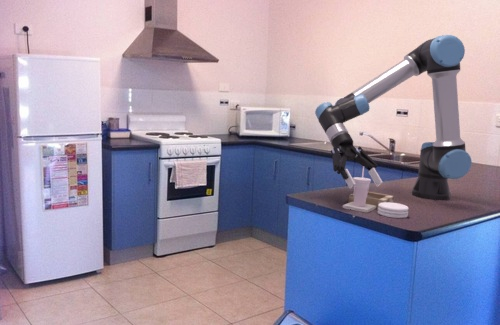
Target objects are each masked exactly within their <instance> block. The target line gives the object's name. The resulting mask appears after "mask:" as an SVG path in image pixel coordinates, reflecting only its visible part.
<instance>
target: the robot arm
mask: <svg viewBox="0 0 500 325" xmlns="http://www.w3.org/2000/svg"><path fill="white" fill-rule="evenodd" d="M465 52H466V49H465V46H464V43H463V41H462V40H461V39H460V38H458V36H455V35H452V34H443V35H442V34H441V35H439V36H436V37H434V38H431V39H428V40H426V41H424V42H422V43H421V44H419V45H418V46H417V47H416V48H415V49H413V50H412V51H410V52H409V53H407V54H405V56H404V57H403V60H400V61H399V62H397V63H396V64H395V65H393V66H391V67H390V68H388V69H387V70H385V71H383V72H382V73H380V74H378V75H377V76H375V77H374V78H373V79H371V80H369V81H367V82H366V83H364V84H363V85H361V86H359V87H358V88H357V89H355V90H353V91H352V92H350V93H349V94H347V95H346V96H344V97H342V98H339V99H337V100H336V101H335V104H332V103H331V102H330V101H327V102H323V103H321V104H319V105H318V106H317V107H316V109H315V111H314V114H315V116H316V119H317V120H318V121H317V122H318V123H319V124H320V126H321V129H322V130H323V132H324V133H325V135H326V137H327V138H328V140H329V142H330V143H331V146H332V148H331V150H330V153H331V155H332V156H331V157H332V166H333V167H332V168H333V171H334V172H336V173H337V174H338V175H341V177H342V179H343V180H344V181H345V183H346V185H347V187H348V188H349V189H350V190H351V189H352V188H354V185H355V182H354V180H353V178H354V177H352V175H351V173H350V171H349V169H348V168H346V165H347V161H353V162H357V163H358V164H359V165H361V166H362V167H363V166H364V169H366V170H368V171H367V172H368V174H369V176H370V179H371V180H372V181H373V183H374V184H375V186H376V188H377V187H378V188H379V186H380V185H382V184H383V180H382V178H381V177H380V175H379V173H378V171H377V169H376V168H378V166H379V165H378V164H377V162H376V161H374V160H373V159H372V158H371V157H370V155H368V154H367V153H366V152H365V151H364V149H363V148H362V146H358V147H355V146H354V140H353V137H352V136H351V135H350V133H349V130H348V129H347V128H346V126H345V125H344V123H346V122H348V121H350V120H353V119H355V118H357V117H359V116H363V115H364V114H366V113H368V112H369V111H370V109H371V108H370V103H372V102H373V101H375V100H377V99H378V98H379V97H381V96H383V95H385V94H386V93H387V92H389V91H390V90H393V89H395V88H396V87H397V86H399V85H401V84H402V83H404V82H405V81H407V80H408V79H410V78H412V77H413V76H414V77H419V76H420V75H421V74H423V73H425V72H426V74H427V76H428V77H430V78H431V85H432V86H431V87H432V97H433V98H432V99H433V112H434V114H433V115H434V125H435V128H434V129H435V136H436V138H435V141H434V142H432V141H431V142H430V141H426V142H423V143H422V144H421V148H420V150H419V151H420V155H419V163H418V165H419V166H418V174H417V178H416V181H415V183H414V185H413V187H412V189H411V190H412V191H411V195H412V196H413V197H416V198H418V199H425V200H430V201H431V200H433V201H449V200H451V192H450V187H449V180H450V179H451V180H458V179H462V178H463V177H465V176H466V175H467V174H468V173H469V171H470V170H471V168H472V158H471V156H470V154H469V153H468V152H467V151H466V142H465V141H464V140H463V139H462V137H461V129H460V112H459V98H458V97H459V96H458V95H459V94H458V83H457V81H458V80H457V75H458V74H459V73H460V72H461V61H463V59H464V58H465V54H466V53H465ZM448 179H449V180H448Z"/></svg>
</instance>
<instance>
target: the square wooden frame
mask: <svg viewBox="0 0 500 325" xmlns="http://www.w3.org/2000/svg"><path fill="white" fill-rule="evenodd" d="M348 202H349V203H350V202H354V192H353V193H350V194H349V195H348ZM383 202H390V203H395V195H391V194H387V193H386V194H385V193H379V192H374V191H368V194H367V198H366V203H365V204H369V205H374V206H376V209H378V204H379V203H383Z"/></svg>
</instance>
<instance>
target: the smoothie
mask: <svg viewBox="0 0 500 325" xmlns="http://www.w3.org/2000/svg"><path fill="white" fill-rule="evenodd" d="M364 175H365V167H364V166H362V173H361V177H358V176H357V177H356V176H354V177H352V178H353V180H354V182H355V185H354V186H353V193H354V205H355V206H359V207H364V206H365V203H366V198H367V194H368V192H369V189H370V184H371V183H372V178H367V177H364Z"/></svg>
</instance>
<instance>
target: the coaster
mask: <svg viewBox="0 0 500 325" xmlns="http://www.w3.org/2000/svg"><path fill="white" fill-rule="evenodd" d="M409 209H410V208H409V206H407V205H406V204H403V203H399V202H394V203H390V202H383V203H379V204H378V208H377V214H378V215H380V216H383V217H386V218H392V219H406V218H408V217H409Z"/></svg>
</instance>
